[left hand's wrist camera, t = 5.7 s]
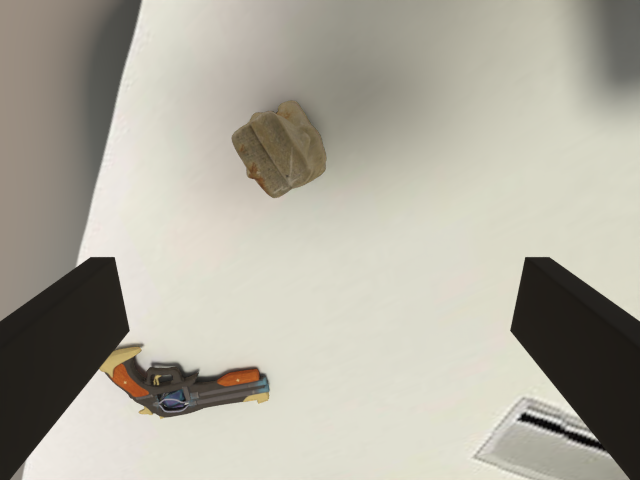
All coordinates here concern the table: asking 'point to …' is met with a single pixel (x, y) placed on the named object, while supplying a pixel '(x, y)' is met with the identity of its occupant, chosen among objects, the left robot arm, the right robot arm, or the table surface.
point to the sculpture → (280, 149)
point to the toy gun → (181, 386)
